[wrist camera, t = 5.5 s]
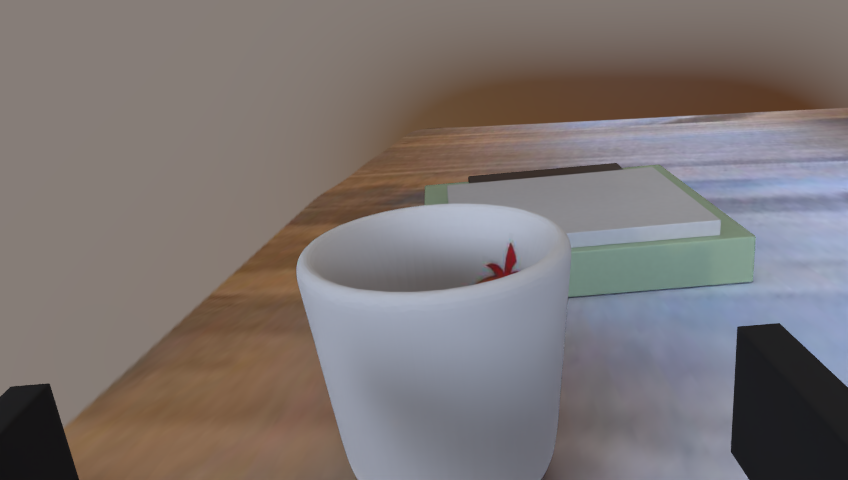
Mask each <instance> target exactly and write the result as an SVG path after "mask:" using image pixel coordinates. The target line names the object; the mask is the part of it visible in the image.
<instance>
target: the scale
mask: <svg viewBox="0 0 848 480" xmlns="http://www.w3.org/2000/svg"><path fill="white" fill-rule="evenodd" d="M468 180H469V182H460V183H449V184H438V185H427V186H425V205H434V204H451V203H478V204H493V205H504V206H510V207H515V208H521V209H525V210H528V211H532V212H535V213H538V214H541V215H543V216H545V217H547V218H549V219H551V220H553V221H554V222H556V223H557V224H558V225H559V226H560V227H561V228H562V229H563V230H564V231H565V232H566V234H567V236H568V238H569V241H570V244H571V267H570V279H569V292H568V297H576V296H588V295H600V294H612V293H624V292H636V291H648V290H660V289H672V288H684V287H696V286H708V285H720V284H732V283H744V282H752V281H753V271H754V255H755V239H756V237H755V236H754V235H753V234H752V233H750V232H749V231H748V230H746V229H745V228H744V227H742V226H741V225H740V224H738V223H737V222H736V221H734V220H733V219H731V218H730V217H729V216H727V215H726V214H725V213H723V212H722V211H721V210H719V209H718V208H717V207H715V206H714V205H713V204H711V203H710V202H709V201H707V200H706V199H705V198H703V197H702V196H701V195H699V194H698V193H697V192H695V191H694V190H693V189H691V188H690V187H689V186H687V185H686V184H685V183H683V182H682V181H680V180H679V179H678V178H676V177H675V176H674V175H672V174H671V173H670V172H668V171H667V170H666V169H664V168H663V167H662V166H660V165H649V166H638V167H627V168H621V167H620V166H619V165H618V164H617V163H612V164H601V165H590V166H579V167H567V168H556V169H545V170H534V171H523V172H512V173H501V174H490V175H479V176H469V177H468Z"/></svg>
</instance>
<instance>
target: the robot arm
mask: <svg viewBox="0 0 848 480" xmlns="http://www.w3.org/2000/svg"><path fill="white" fill-rule="evenodd" d="M731 453H732V454H733V456H734V457H735V459H736V460H737V462H738V463H739V465H740V466H741V468H742V469H743V471H744V472H745V474H746V475H747V477H748V479H749V480H848V387H847V386H846V385H845V384H843V383H842V382H841V381H840V380H839V379H838V378H837V377H836V376H835V375H834V374H833V373H832V372H831V371H830V370H829V369H827V368H826V367H825V366H824V365H823V364H822V363H821V362H820V361H819V360H818V359H817V358H816V357H815V356H814V355H813V354H812V353H810V352H809V351H808V350H807V349H806V348H805V347H804V346H803V345H802V344H801V343H800V342H799V341H798V340H797V339H796V338H794V337H793V336H792V335H791V334H790V333H789V332H788V331H787V330H786V329H785V328H784V327H783V326H782V325H781V324H780V323H777V324H765V325H753V326H740V327H737V346H736V365H735V384H734V403H733V422H732V440H731ZM0 480H79V478H78V475H77V472H76V468H75V465H74V462H73V459H72V455H71V452H70V449H69V446H68V442H67V439H66V436H65V433H64V429H63V426H62V423H61V420H60V416H59V413H58V410H57V406H56V403H55V400H54V397H53V393H52V390H51V387H50V384H38V385H26V386H14V387H10V388H9V389H8V390H7V391H6V392H5V393H4V394H3V395H2V396H1V397H0Z"/></svg>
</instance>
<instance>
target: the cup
mask: <svg viewBox="0 0 848 480" xmlns="http://www.w3.org/2000/svg"><path fill="white" fill-rule="evenodd" d="M570 267H571V244H570V241H569V238H568V236H567V234H566V232H565V231H564V230H563V229H562V228H561V227H560V226H559V225H558V224H557V223H556V222H554V221H553V220H551V219H549V218H547V217H545V216H543V215H541V214H538V213H535V212H532V211H528V210H525V209H521V208H515V207H510V206H504V205H493V204H478V203H451V204H434V205H423V206H415V207H408V208H401V209H396V210H391V211H386V212H381V213H377V214H373V215H370V216H366V217H363V218H359V219H356V220H353V221H351V222H348V223H345V224H342V225H340V226H338V227H336V228H333V229H331V230H329V231H327V232H325V233H324V234H322V235H321V236H319V237H318V238H316V239H314V240H313V241H312V242H311V243H310V244H309V245H308V246H307V247H306V248H305V249H304V250H303V252H302V253H301V255H300V257H299V259H298V263H297V267H296V273H297V281H298V285H299V289H300V292H301V296H302V300H303V303H304V307H305V310H306V314H307V317H308V321H309V325H310V328H311V332H312V335H313V339H314V343H315V346H316V350H317V353H318V357H319V360H320V364H321V368H322V371H323V375H324V378H325V382H326V385H327V389H328V393H329V396H330V400H331V403H332V407H333V410H334V414H335V418H336V421H337V425H338V428H339V432H340V435H341V439H342V442H343V445H344V449H345V452H346V455H347V458H348V461H349V463H350V465H351V468H352V470H353V472H354V474H355V476H356V478H357V479H358V480H541V479H542V478H543V476H544V474H545V472H546V470H547V468H548V466H549V464H550V461H551V458H552V455H553V452H554V447H555V442H556V434H557V426H558V417H559V404H560V392H561V379H562V367H563V354H564V342H565V329H566V317H567V304H568V292H569V279H570Z"/></svg>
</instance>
